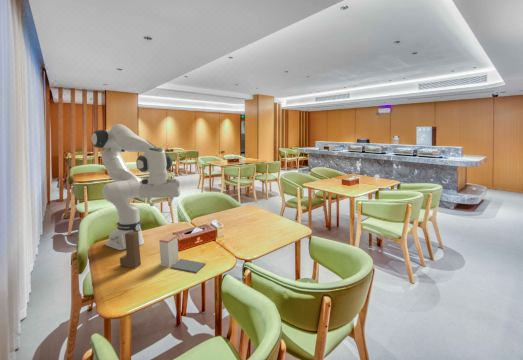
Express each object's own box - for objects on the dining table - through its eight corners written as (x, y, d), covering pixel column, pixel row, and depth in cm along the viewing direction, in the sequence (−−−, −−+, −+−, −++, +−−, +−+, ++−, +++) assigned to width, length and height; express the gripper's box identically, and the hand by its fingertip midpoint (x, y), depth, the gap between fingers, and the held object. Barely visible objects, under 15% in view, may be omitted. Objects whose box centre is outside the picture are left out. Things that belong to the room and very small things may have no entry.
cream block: (160, 265, 141) (159, 239, 138) (170, 258, 148) (169, 234, 145) (169, 267, 139) (167, 241, 136) (178, 259, 147) (177, 235, 144)
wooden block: (120, 266, 139) (116, 232, 136) (126, 262, 144) (123, 229, 140) (134, 268, 137) (132, 234, 133) (141, 264, 141) (138, 231, 138)
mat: (170, 267, 138) (170, 266, 138) (180, 259, 147) (180, 258, 147) (196, 273, 134) (196, 271, 134) (205, 264, 142) (205, 263, 142)
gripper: (180, 178, 144) (182, 203, 146) (141, 179, 144) (144, 204, 146) (177, 179, 138) (179, 206, 140) (136, 181, 138) (139, 207, 140)
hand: (161, 205), depth 143 cm, fingers open, 8 cm apart
